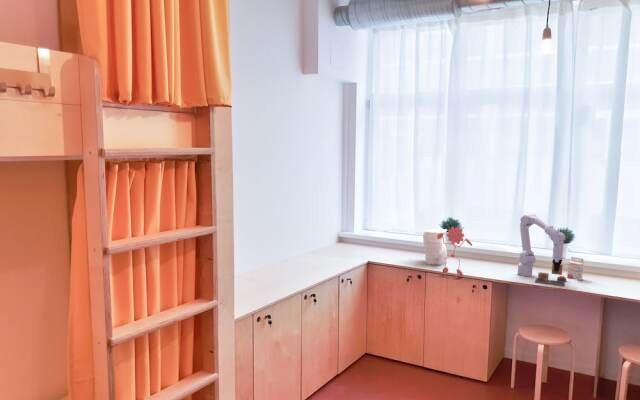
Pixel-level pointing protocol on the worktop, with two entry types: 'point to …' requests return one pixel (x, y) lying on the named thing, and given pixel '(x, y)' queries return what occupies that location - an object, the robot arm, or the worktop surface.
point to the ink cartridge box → (575, 268)
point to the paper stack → (434, 247)
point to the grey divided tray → (551, 282)
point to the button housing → (561, 279)
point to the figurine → (455, 237)
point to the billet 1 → (543, 276)
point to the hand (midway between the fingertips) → (556, 270)
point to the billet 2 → (558, 271)
